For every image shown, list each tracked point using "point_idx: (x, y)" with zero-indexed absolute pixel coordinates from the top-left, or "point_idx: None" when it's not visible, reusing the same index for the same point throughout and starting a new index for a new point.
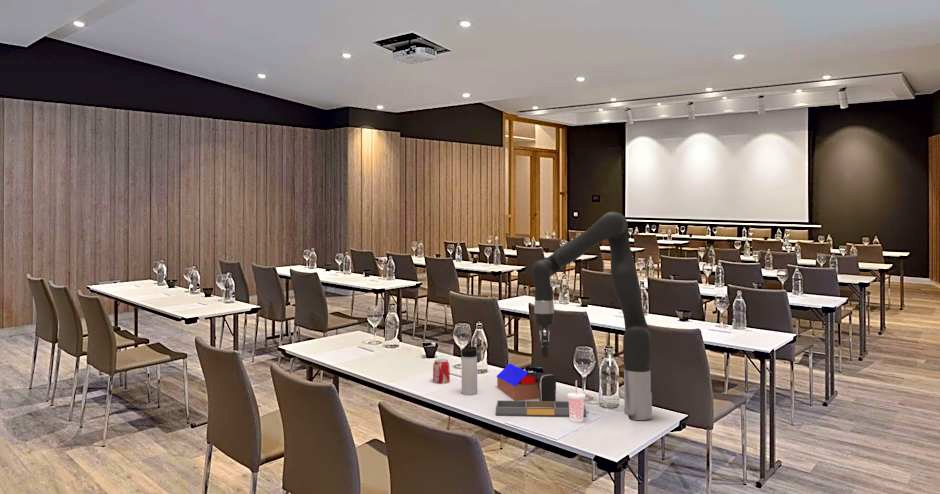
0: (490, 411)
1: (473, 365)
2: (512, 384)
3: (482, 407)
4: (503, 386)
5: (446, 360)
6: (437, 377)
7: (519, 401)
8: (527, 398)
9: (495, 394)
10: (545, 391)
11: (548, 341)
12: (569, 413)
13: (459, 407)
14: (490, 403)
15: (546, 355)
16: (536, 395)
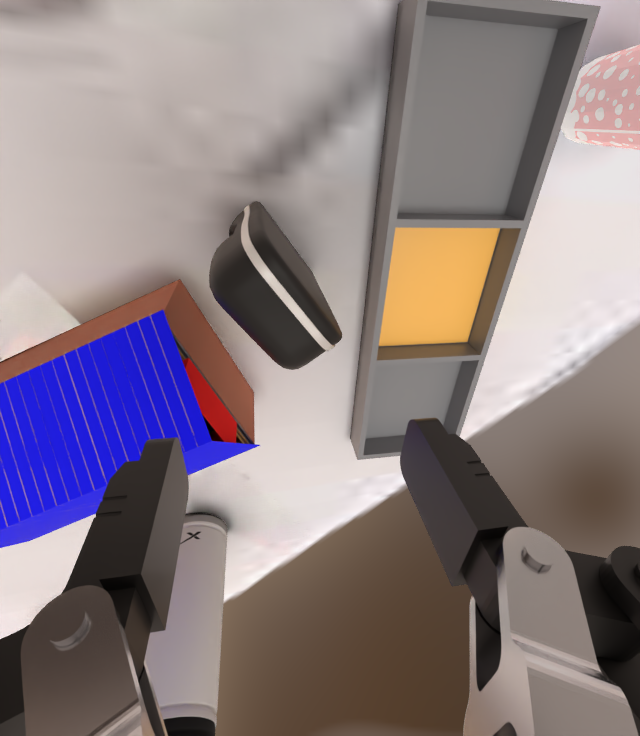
0: None
1: (207, 661)
2: (226, 458)
3: (335, 476)
4: None
5: None
6: None
7: (372, 387)
8: (223, 353)
9: None
10: (316, 286)
11: (521, 646)
12: (605, 145)
13: (335, 524)
14: (278, 465)
15: (456, 440)
16: (193, 317)
